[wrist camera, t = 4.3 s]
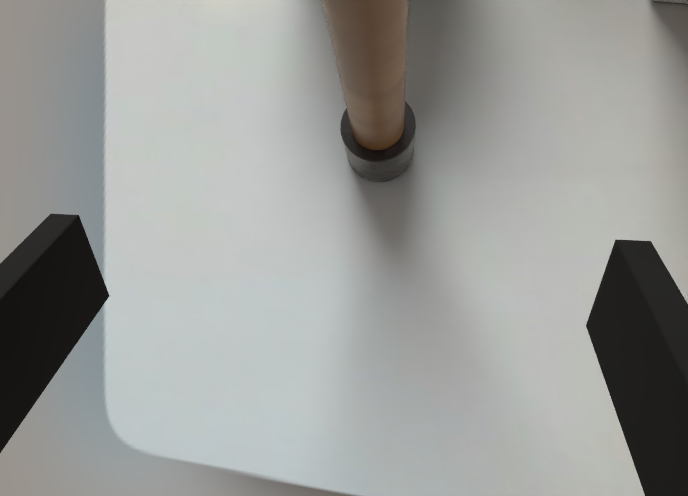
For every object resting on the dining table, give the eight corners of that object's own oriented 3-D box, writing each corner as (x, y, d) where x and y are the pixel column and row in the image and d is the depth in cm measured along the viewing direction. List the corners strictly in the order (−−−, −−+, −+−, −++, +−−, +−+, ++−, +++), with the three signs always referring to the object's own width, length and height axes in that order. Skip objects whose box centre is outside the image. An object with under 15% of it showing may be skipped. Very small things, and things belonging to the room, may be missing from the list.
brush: (414, 119, 32) (436, -130, 15) (411, 183, 32) (429, 3, 14) (349, 117, 33) (293, -128, 15) (344, 180, 32) (282, 3, 15)
